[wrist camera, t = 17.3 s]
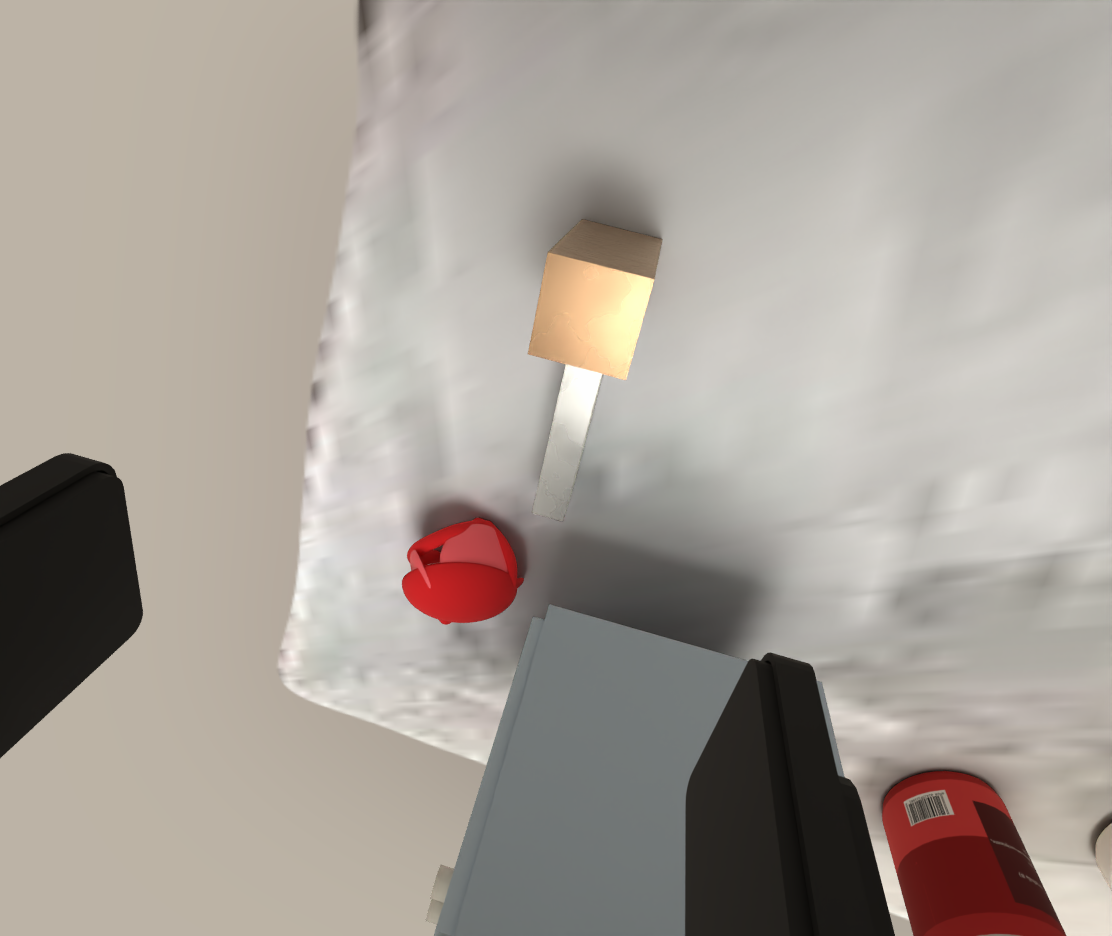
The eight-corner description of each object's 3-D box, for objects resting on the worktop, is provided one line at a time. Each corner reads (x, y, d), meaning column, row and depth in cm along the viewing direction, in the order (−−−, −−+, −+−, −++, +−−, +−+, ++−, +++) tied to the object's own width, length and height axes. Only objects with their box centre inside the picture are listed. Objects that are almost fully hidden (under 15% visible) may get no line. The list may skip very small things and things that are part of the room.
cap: (371, 565, 40) (407, 657, 39) (407, 531, 36) (449, 632, 35) (475, 532, 45) (510, 611, 44) (517, 498, 41) (557, 585, 40)
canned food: (861, 823, 48) (904, 998, 38) (908, 754, 44) (969, 931, 34) (966, 851, 47) (1037, 1037, 38) (1024, 784, 43) (1119, 973, 34)
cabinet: (553, 506, 39) (385, 986, 18) (809, 577, 39) (967, 1174, 17) (511, 675, 47) (357, 1158, 25) (725, 737, 46) (759, 1295, 24)
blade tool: (582, 219, 31) (548, 252, 24) (662, 239, 31) (654, 279, 23) (526, 477, 39) (486, 567, 31) (590, 495, 39) (566, 590, 31)
